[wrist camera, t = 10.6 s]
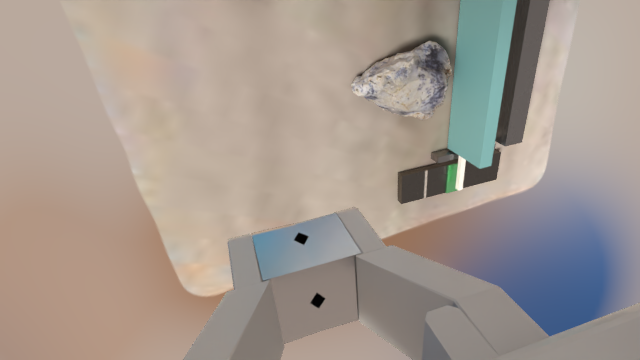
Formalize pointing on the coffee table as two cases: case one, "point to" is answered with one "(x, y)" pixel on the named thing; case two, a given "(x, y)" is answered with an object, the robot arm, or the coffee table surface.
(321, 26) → the coffee table surface
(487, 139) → the gauge plate
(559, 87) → the coffee table surface
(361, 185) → the coffee table surface
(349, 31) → the coffee table surface
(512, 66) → the gauge frame
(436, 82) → the mineral specimen
